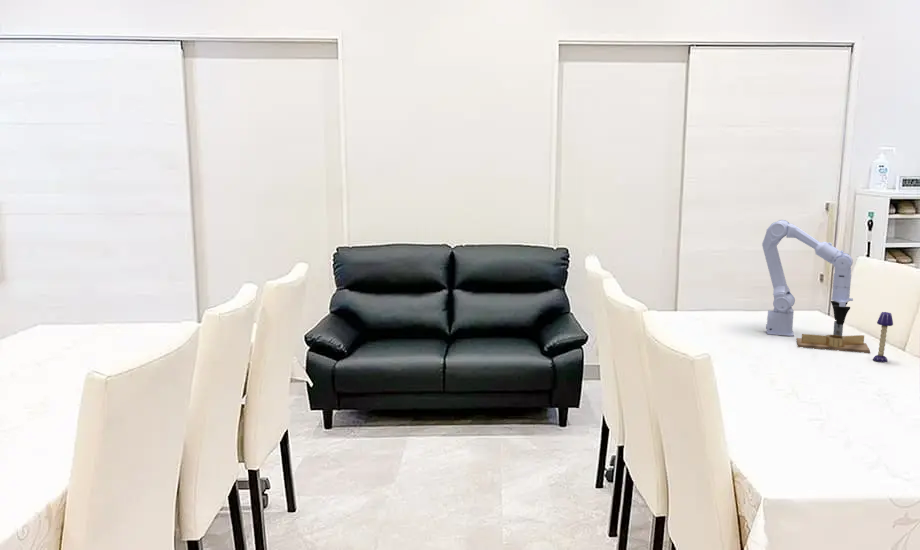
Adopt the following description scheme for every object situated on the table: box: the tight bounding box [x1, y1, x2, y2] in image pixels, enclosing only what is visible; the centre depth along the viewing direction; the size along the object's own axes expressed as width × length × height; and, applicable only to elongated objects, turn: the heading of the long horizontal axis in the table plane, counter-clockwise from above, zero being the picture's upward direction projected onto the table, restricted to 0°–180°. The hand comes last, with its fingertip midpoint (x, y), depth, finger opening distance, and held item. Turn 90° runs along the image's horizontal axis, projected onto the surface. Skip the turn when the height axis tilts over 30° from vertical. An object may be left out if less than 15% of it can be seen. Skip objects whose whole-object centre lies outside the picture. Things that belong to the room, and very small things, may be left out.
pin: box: [832, 320, 844, 336], centre depth 274 cm, size 3×3×7 cm
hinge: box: [801, 333, 865, 348], centre depth 264 cm, size 21×9×3 cm, turn 68°
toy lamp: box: [872, 311, 894, 363], centre depth 245 cm, size 5×5×17 cm
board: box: [796, 337, 871, 354], centre depth 265 cm, size 23×10×1 cm, turn 68°
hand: (838, 322), depth 273 cm, fingers open, 7 cm apart
